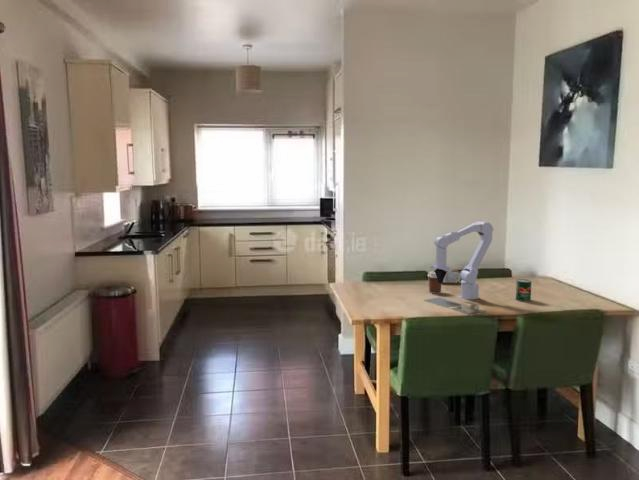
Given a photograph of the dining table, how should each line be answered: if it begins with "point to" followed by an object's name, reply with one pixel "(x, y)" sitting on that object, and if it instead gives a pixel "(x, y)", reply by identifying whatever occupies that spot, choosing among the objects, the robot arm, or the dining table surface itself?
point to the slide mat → (451, 305)
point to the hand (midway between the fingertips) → (440, 282)
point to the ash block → (469, 307)
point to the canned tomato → (523, 290)
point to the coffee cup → (434, 283)
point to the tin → (452, 277)
